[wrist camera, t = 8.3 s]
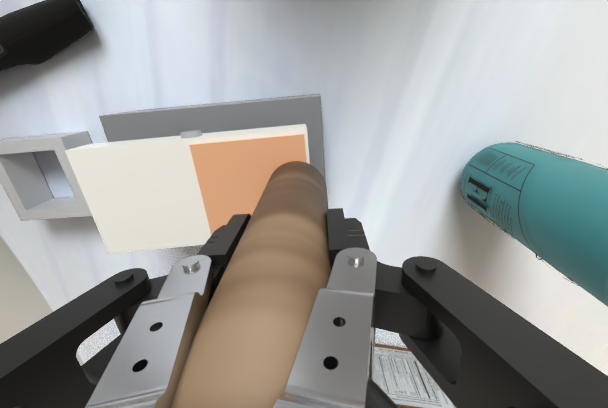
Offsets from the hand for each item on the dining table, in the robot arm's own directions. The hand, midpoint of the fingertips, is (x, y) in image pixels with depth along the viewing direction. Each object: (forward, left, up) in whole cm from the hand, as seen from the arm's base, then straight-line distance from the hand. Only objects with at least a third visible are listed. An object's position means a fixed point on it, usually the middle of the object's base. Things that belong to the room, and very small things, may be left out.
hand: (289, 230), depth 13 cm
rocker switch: (0, -6, -6) cm, 8 cm away
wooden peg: (0, 0, -5) cm, 5 cm away
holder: (0, -23, -14) cm, 27 cm away
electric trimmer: (-11, -23, -15) cm, 29 cm away
